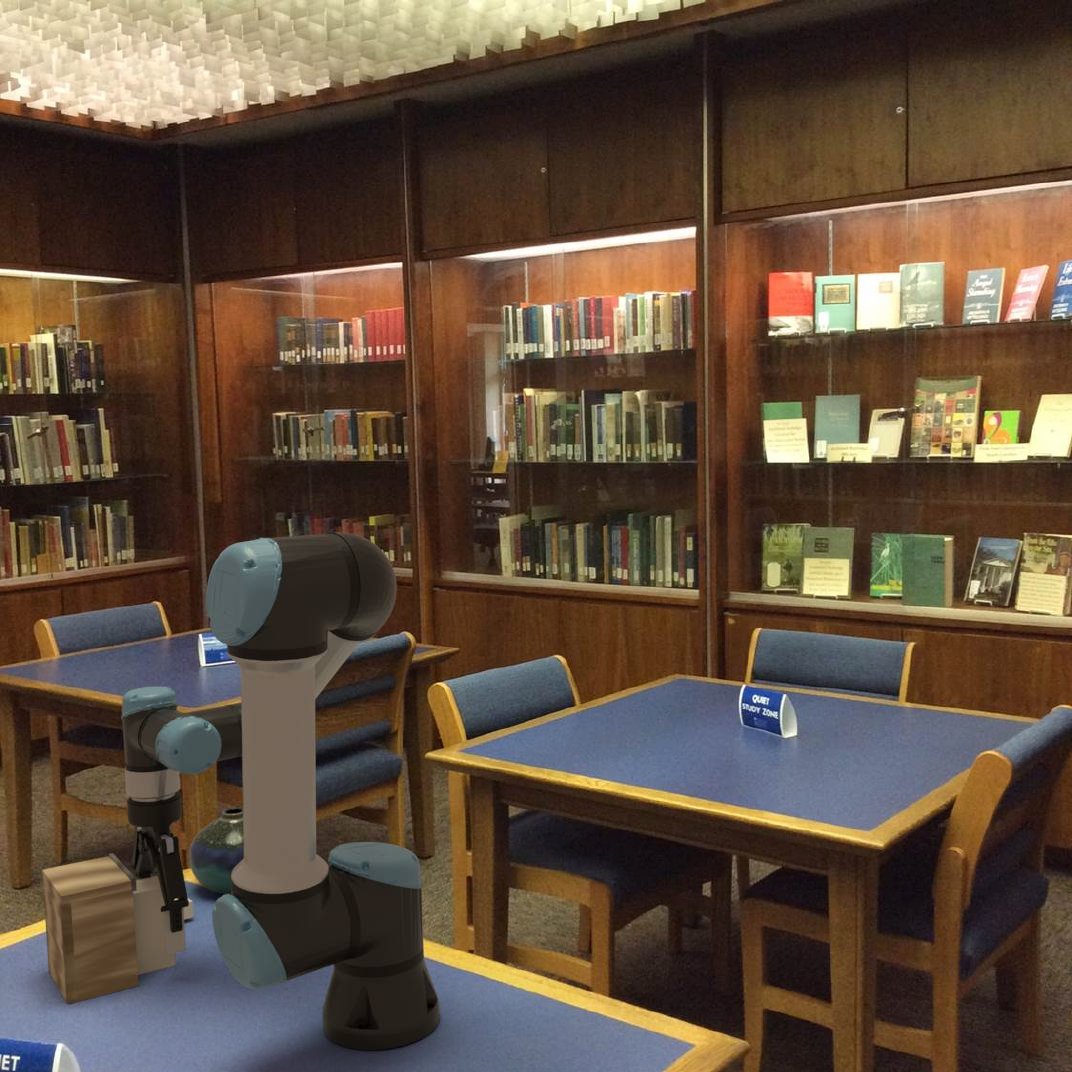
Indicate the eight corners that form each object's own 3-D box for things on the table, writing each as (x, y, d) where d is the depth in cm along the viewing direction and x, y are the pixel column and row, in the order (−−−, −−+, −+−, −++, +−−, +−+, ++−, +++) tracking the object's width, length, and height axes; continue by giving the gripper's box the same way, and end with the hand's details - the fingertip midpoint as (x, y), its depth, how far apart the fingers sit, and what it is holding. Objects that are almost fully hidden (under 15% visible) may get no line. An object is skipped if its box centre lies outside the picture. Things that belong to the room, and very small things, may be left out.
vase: (257, 864, 221) (254, 791, 220) (300, 887, 209) (297, 810, 208) (175, 886, 211) (171, 810, 210) (215, 912, 199) (211, 832, 198)
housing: (142, 985, 174) (135, 878, 172) (68, 1004, 168) (61, 894, 167) (118, 954, 184) (112, 853, 183) (48, 971, 179) (41, 867, 177)
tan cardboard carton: (175, 965, 180) (170, 885, 179) (104, 983, 174) (99, 901, 173) (165, 953, 184) (160, 875, 183) (95, 970, 179) (90, 890, 178)
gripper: (206, 810, 171) (214, 958, 173) (155, 770, 192) (162, 902, 194) (152, 821, 167) (160, 972, 169) (105, 779, 188) (113, 914, 190)
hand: (161, 935), depth 181 cm, fingers open, 13 cm apart
